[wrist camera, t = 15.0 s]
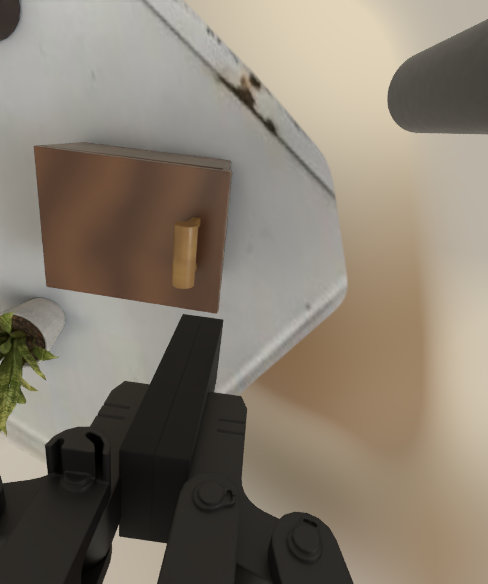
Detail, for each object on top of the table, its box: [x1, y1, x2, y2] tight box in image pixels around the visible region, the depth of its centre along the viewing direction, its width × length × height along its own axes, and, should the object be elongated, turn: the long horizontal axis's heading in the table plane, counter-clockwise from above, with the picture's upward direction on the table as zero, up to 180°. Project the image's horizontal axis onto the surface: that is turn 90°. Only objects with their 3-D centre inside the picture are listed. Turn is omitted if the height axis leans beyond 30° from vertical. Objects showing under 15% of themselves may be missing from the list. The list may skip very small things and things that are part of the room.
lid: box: [34, 146, 232, 313], centre depth 32 cm, size 16×13×5 cm
